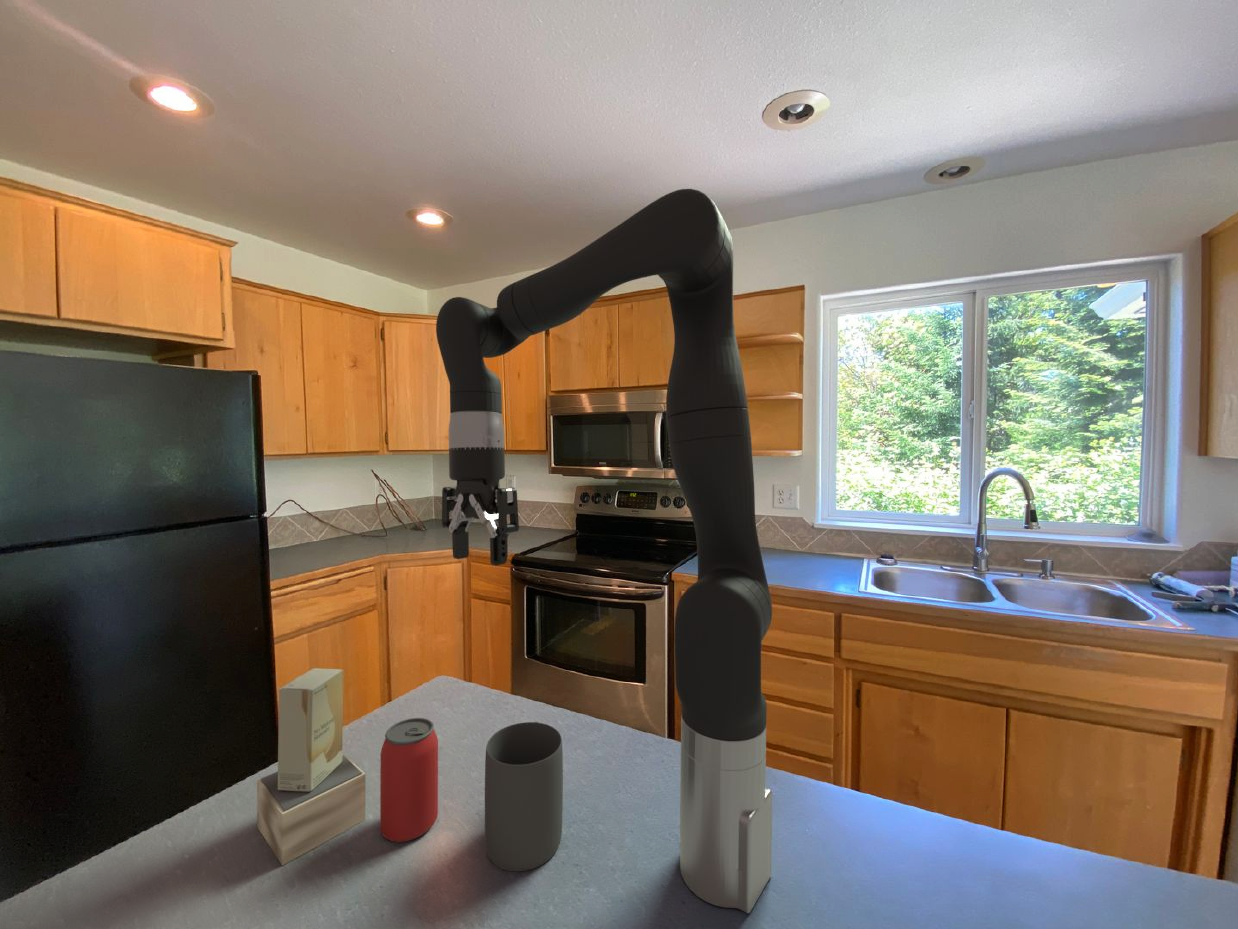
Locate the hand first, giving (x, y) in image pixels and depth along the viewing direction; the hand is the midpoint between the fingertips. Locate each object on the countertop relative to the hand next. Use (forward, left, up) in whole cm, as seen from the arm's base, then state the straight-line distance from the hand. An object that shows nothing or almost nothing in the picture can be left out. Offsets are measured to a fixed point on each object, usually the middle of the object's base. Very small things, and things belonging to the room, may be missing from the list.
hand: (479, 561), depth 68 cm
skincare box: (+9, +18, -26) cm, 32 cm away
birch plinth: (+9, +18, -31) cm, 37 cm away
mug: (-12, +1, -32) cm, 34 cm away
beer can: (0, +10, -32) cm, 33 cm away
